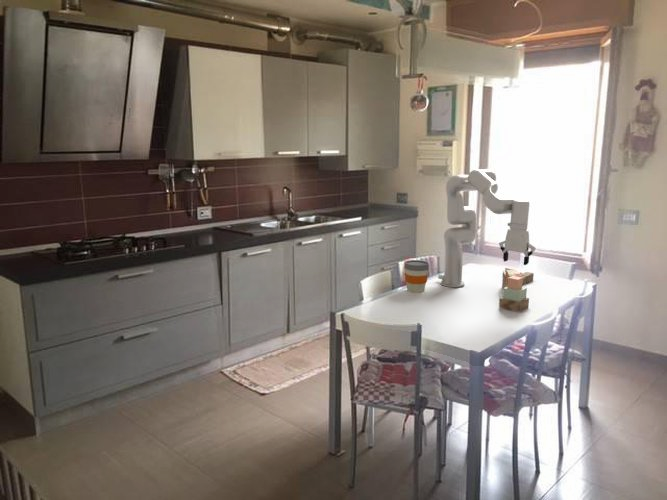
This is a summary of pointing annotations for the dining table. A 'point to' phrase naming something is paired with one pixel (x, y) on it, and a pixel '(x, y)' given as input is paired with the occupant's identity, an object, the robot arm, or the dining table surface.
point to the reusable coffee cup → (416, 275)
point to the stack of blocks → (508, 274)
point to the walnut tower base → (514, 304)
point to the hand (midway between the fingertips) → (515, 262)
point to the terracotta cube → (515, 282)
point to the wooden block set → (525, 276)
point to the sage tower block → (514, 294)
